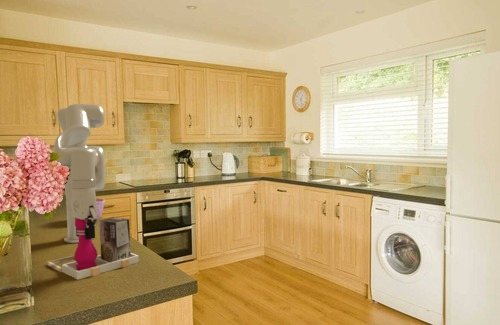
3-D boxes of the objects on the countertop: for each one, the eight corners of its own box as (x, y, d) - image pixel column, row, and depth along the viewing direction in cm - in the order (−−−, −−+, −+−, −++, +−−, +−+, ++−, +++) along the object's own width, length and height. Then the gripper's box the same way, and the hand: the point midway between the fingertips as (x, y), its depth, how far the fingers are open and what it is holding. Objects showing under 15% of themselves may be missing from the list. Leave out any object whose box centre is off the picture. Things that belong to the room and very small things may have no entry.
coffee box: (131, 262, 137) (130, 218, 136) (117, 267, 132) (115, 222, 131) (114, 258, 142) (113, 216, 141) (100, 263, 136) (98, 219, 136)
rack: (62, 271, 128) (62, 264, 128) (122, 256, 145) (122, 249, 145) (79, 280, 120) (78, 272, 120) (140, 262, 137) (140, 256, 137)
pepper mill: (71, 269, 128) (69, 210, 128) (93, 264, 133) (90, 208, 133) (79, 273, 123) (76, 212, 122) (101, 268, 128) (98, 209, 127)
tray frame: (46, 264, 136) (46, 261, 136) (78, 257, 144) (78, 254, 144) (60, 271, 128) (60, 268, 128) (92, 263, 137) (92, 260, 137)
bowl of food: (66, 220, 214) (66, 199, 214) (104, 216, 223) (103, 197, 222) (66, 227, 196) (65, 205, 195) (106, 223, 205) (106, 202, 204)
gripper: (61, 184, 130) (63, 235, 131) (84, 187, 119) (86, 244, 120) (82, 182, 136) (84, 231, 137) (106, 185, 124) (108, 239, 125)
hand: (85, 236), depth 128 cm, fingers closed on pepper mill, 5 cm apart
